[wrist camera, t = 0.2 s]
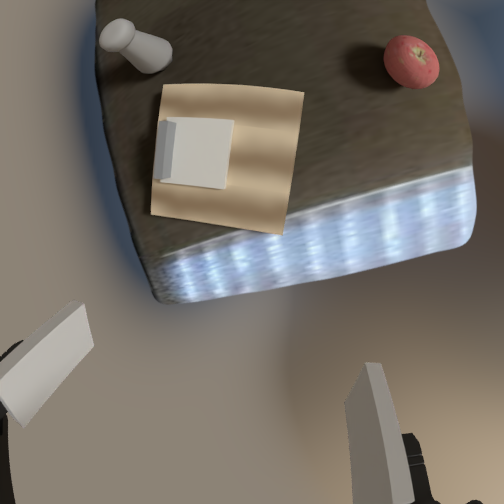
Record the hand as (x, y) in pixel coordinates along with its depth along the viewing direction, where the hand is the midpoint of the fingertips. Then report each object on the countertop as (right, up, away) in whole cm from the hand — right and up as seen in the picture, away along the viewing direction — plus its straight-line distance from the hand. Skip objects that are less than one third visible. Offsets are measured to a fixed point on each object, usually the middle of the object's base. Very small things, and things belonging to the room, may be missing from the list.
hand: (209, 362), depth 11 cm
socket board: (-2, +18, +23) cm, 29 cm away
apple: (+22, +30, +16) cm, 40 cm away
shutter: (-5, +17, +21) cm, 28 cm away
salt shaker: (-12, +33, +20) cm, 40 cm away
